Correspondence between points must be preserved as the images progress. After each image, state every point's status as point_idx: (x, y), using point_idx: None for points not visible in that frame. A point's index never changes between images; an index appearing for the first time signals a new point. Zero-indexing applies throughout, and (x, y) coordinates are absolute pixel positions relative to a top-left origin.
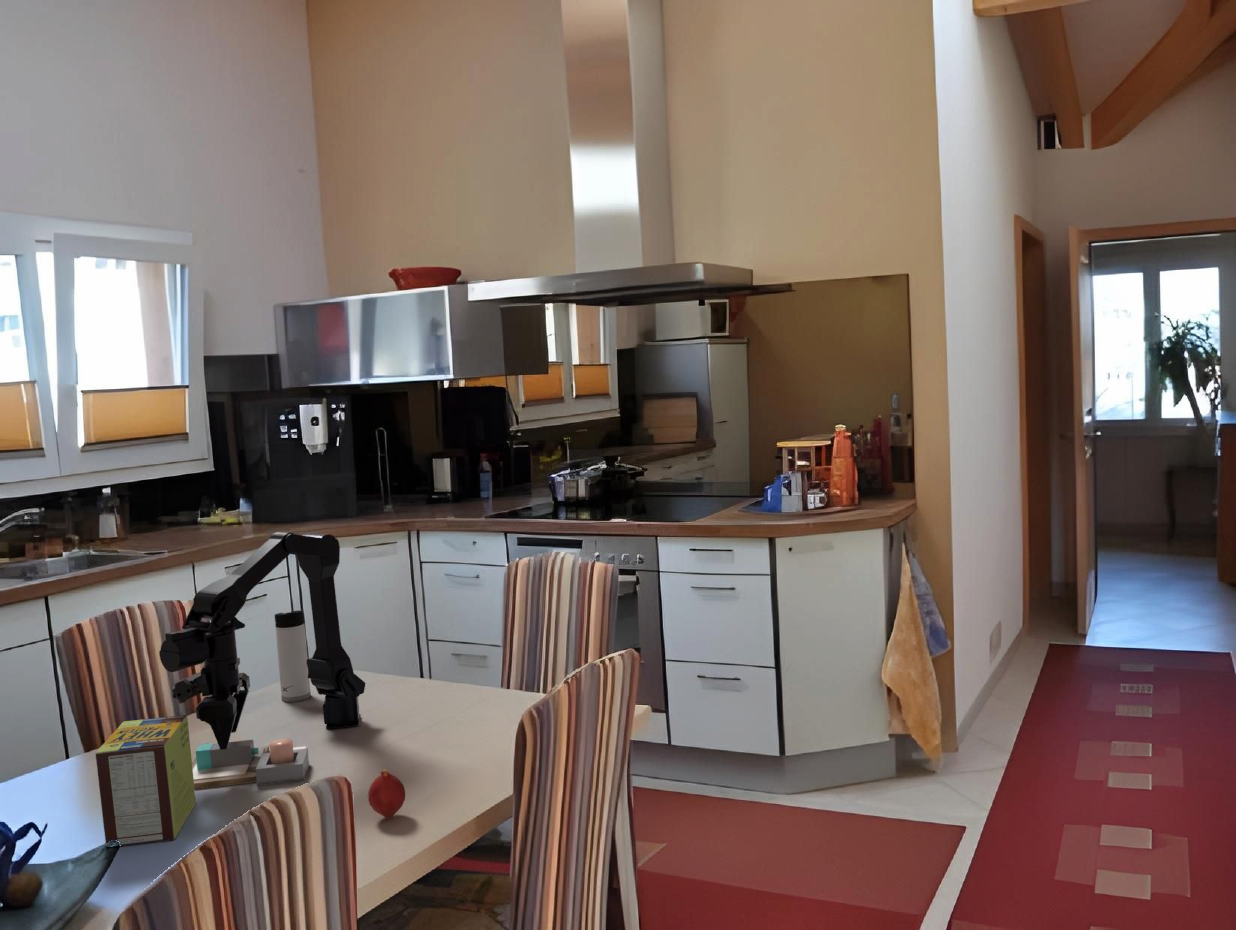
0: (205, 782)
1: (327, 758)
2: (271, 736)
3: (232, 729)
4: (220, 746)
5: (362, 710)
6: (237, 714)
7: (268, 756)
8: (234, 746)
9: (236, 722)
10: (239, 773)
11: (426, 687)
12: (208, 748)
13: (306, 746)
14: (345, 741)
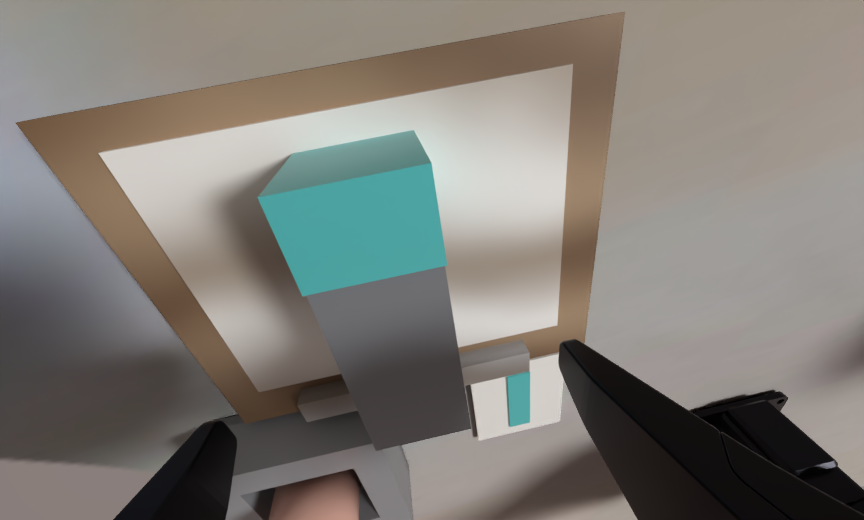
0: (129, 270)
1: (448, 481)
2: (743, 281)
3: (570, 369)
4: (188, 449)
5: (799, 427)
6: (639, 507)
7: (340, 469)
8: (371, 395)
9: (593, 435)
10: (257, 374)
11: (855, 476)
12: (330, 274)
13: (558, 420)
14: (568, 471)
